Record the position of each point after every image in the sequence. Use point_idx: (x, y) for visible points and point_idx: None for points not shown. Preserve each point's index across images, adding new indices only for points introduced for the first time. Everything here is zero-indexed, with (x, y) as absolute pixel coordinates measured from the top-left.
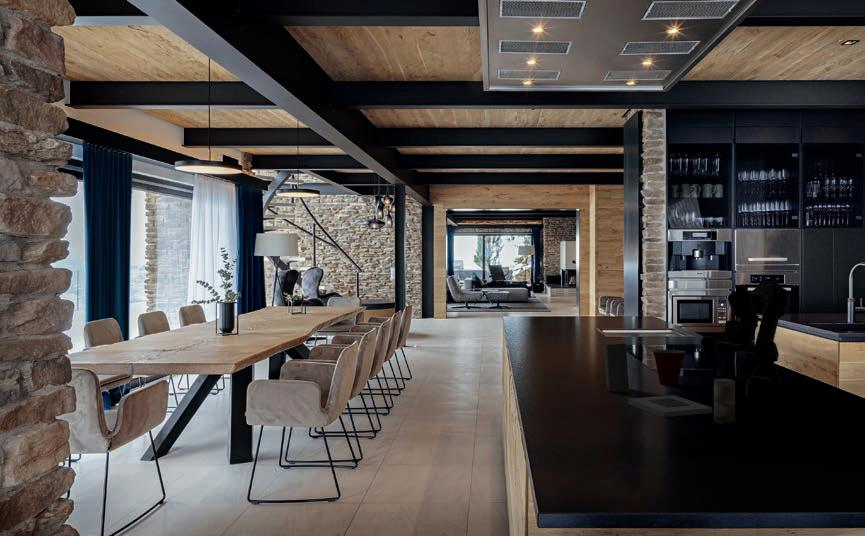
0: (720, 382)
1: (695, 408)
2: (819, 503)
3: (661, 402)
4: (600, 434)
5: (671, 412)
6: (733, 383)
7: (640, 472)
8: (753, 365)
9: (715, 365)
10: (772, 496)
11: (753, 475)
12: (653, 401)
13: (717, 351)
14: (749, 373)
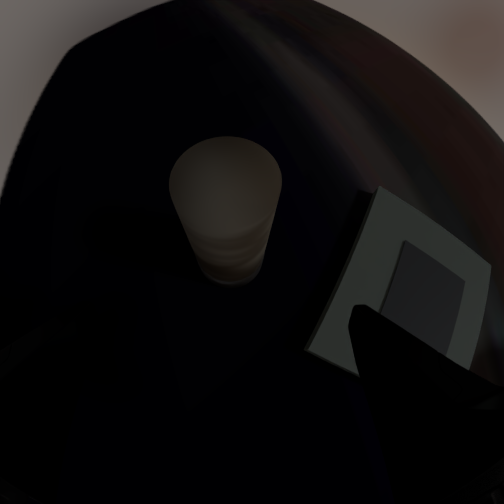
0: (231, 138)
1: (344, 292)
2: (91, 39)
3: (438, 282)
4: (356, 59)
5: (370, 206)
6: (174, 170)
7: (241, 8)
8: (41, 329)
9: (366, 325)
10: (125, 27)
11: (137, 42)
12: (453, 276)
13: (453, 466)
14: (92, 303)
